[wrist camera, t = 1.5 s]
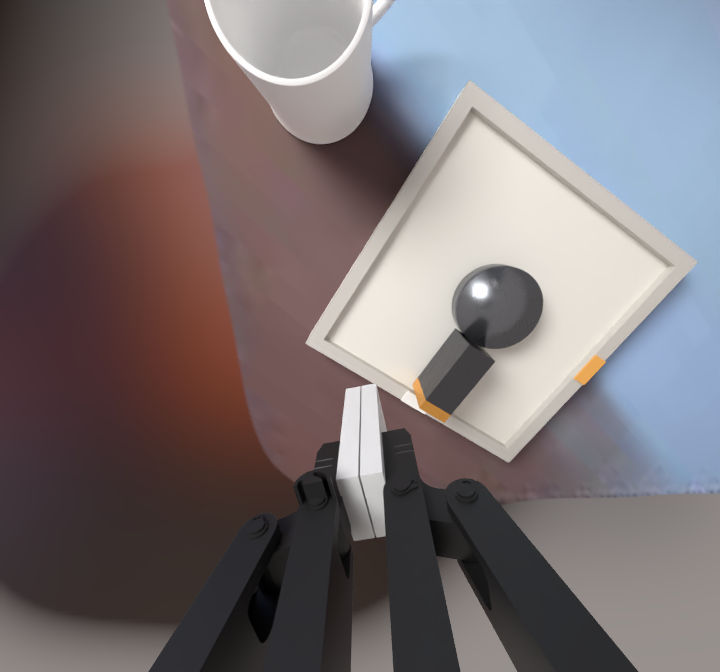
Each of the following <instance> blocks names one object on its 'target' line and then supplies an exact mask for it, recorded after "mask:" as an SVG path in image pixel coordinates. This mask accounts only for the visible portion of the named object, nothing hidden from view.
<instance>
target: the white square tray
mask: <svg viewBox="0 0 720 672" xmlns="http://www.w3.org/2000/svg"><path fill="white" fill-rule="evenodd" d="M697 263H698V262H697V261H696V260H695V259H693V258H692V257H691V256H689V255H688V254H687V253H686V252H684V251H683V250H682V249H681V248H679V247H678V246H677V245H676V244H674V243H673V242H672V241H671V240H669V239H668V238H667V237H666V236H664V235H663V234H662V233H661V232H659V231H658V230H657V229H656V228H654V227H653V226H652V225H651V224H649V223H648V222H647V221H646V220H644V219H643V218H642V217H641V216H639V215H638V214H637V213H636V212H634V211H633V210H632V209H631V208H629V207H628V206H627V205H626V204H624V203H623V202H622V201H621V200H619V199H618V198H617V197H616V196H614V195H613V194H612V193H611V192H609V191H608V190H607V189H606V188H604V187H603V186H602V185H601V184H599V183H598V182H597V181H596V180H594V179H593V178H592V177H591V176H589V175H588V174H587V173H586V172H584V171H583V170H582V169H581V168H579V167H578V166H577V165H576V164H574V163H573V162H572V161H571V160H569V159H568V158H567V157H566V156H564V155H563V154H562V153H561V152H559V151H558V150H557V149H556V148H554V147H553V146H552V145H551V144H549V143H548V142H547V141H546V140H544V139H543V138H542V137H540V136H539V135H538V134H537V133H535V132H534V131H533V130H532V129H530V128H529V127H528V126H527V125H525V124H524V123H523V122H522V121H520V120H519V119H518V118H517V117H515V116H514V115H513V114H512V113H510V112H509V111H508V110H507V109H505V108H504V107H503V106H502V105H500V104H499V103H498V102H497V101H495V100H494V99H493V98H492V97H490V96H489V95H488V94H487V93H485V92H484V91H483V90H482V89H480V88H479V87H478V86H477V85H475V84H474V83H473V82H472V81H470V80H469V81H468V83H467V84H466V86H465V87H464V88H463V90H462V91H461V92H460V94H459V95H458V97H457V99H456V100H455V102H454V103H453V105H452V107H451V108H450V110H449V112H448V113H447V115H446V116H445V118H444V120H443V121H442V123H441V124H440V126H439V128H438V129H437V131H436V132H435V134H434V136H433V137H432V139H431V140H430V142H429V144H428V145H427V147H426V149H425V150H424V152H423V153H422V155H421V157H420V158H419V160H418V161H417V163H416V165H415V166H414V168H413V169H412V171H411V173H410V174H409V176H408V177H407V179H406V181H405V182H404V184H403V185H402V187H401V189H400V190H399V192H398V194H397V195H396V197H395V198H394V200H393V202H392V203H391V205H390V206H389V208H388V210H387V211H386V213H385V214H384V216H383V218H382V219H381V221H380V222H379V224H378V226H377V227H376V229H375V231H374V232H373V234H372V235H371V237H370V239H369V240H368V242H367V243H366V245H365V247H364V248H363V250H362V251H361V253H360V255H359V256H358V258H357V259H356V261H355V263H354V264H353V266H352V268H351V269H350V271H349V272H348V274H347V276H346V277H345V279H344V280H343V282H342V284H341V285H340V287H339V288H338V290H337V292H336V293H335V295H334V296H333V298H332V300H331V301H330V303H329V305H328V306H327V308H326V309H325V311H324V313H323V314H322V316H321V317H320V319H319V321H318V322H317V324H316V325H315V327H314V329H313V330H312V332H311V333H310V335H309V337H308V339H307V341H306V344H307V345H309V346H311V347H312V348H314V349H316V350H317V351H319V352H321V353H323V354H324V355H326V356H328V357H329V358H331V359H333V360H335V361H336V362H338V363H340V364H341V365H343V366H345V367H346V368H348V369H350V370H352V371H353V372H355V373H357V374H358V375H360V376H362V377H363V378H365V379H367V380H369V381H370V382H372V383H374V384H375V383H376V385H377V386H379V387H380V388H382V389H384V390H386V391H387V392H389V393H391V394H392V395H394V396H396V397H397V398H399V399H401V401H403V402H404V403H406V404H408V405H410V406H411V407H413V408H415V409H416V410H418V411H420V412H421V413H423V414H426V415H428V416H430V417H432V418H433V419H435V420H437V421H438V422H440V423H442V424H443V425H445V426H447V427H449V428H450V429H452V430H454V431H455V432H457V433H459V434H460V435H462V436H464V437H466V438H467V439H469V440H471V441H472V442H474V443H476V444H477V445H479V446H481V447H483V448H484V449H486V450H488V451H489V452H491V453H493V454H494V455H496V456H498V457H500V458H501V459H503V460H505V461H506V462H508V463H509V462H510V461H511V460H512V459H513V458H514V457H515V456H516V455H517V454H518V453H519V452H520V450H521V449H522V448H523V447H524V446H525V445H526V444H527V443H528V442H529V441H530V440H531V439H532V438H533V437H534V436H535V435H536V433H537V432H538V431H539V430H540V429H541V428H542V427H543V426H544V425H545V424H546V423H547V422H548V421H549V420H550V419H551V418H552V417H553V415H554V414H555V413H556V412H557V411H558V410H559V409H560V408H561V407H562V406H563V405H564V404H565V403H566V402H567V401H568V400H569V398H570V397H571V396H572V395H573V394H574V393H575V392H576V391H577V390H578V389H579V388H580V387H581V386H582V385H585V384H586V383H587V382H588V381H589V380H590V379H591V377H592V376H593V375H594V374H595V373H596V372H597V371H598V370H599V369H600V368H601V367H602V366H603V365H604V364H605V363H606V362H605V360H606V359H607V358H608V357H609V356H610V355H611V354H612V353H613V352H614V351H615V350H616V349H617V347H618V346H619V345H620V344H621V343H622V342H623V341H624V340H625V339H626V338H627V337H628V336H629V335H630V334H631V333H632V332H633V331H634V329H635V328H636V327H637V326H638V325H639V324H640V323H641V322H642V321H643V320H644V319H645V318H646V317H647V316H648V315H649V314H650V312H651V311H652V310H653V309H654V308H655V307H656V306H657V305H658V304H659V303H660V302H661V301H662V300H663V299H664V298H665V297H666V295H667V294H668V293H669V292H670V291H671V290H672V289H673V288H674V287H675V286H676V285H677V284H678V283H679V282H680V281H681V280H682V278H683V277H684V276H685V275H686V274H687V273H688V272H689V271H690V270H691V269H692V268H693V267H694V266H695V265H696V264H697ZM488 264H505V265H508V266H512V267H515V268H519V269H521V270H524V271H525V272H527V273H529V274H530V275H531V276H532V277H533V278H534V279H535V280H536V281H537V283H538V285H539V286H540V289H541V291H542V295H543V310H542V314H541V317H540V320H539V322H538V324H537V325H536V327H535V328H534V330H533V331H532V332H531V333H530V334H529V335H528V336H527V337H526V338H525V339H523V340H522V341H520V342H519V343H517V344H515V345H512V346H510V347H506V348H501V349H488V348H484V347H482V348H483V349H484V350H485V351H486V352H487V353H488V354H489V355H490V356H491V357H492V358H493V359H494V360H495V363H494V364H493V365H492V366H491V367H490V369H489V370H488V371H487V372H486V373H485V375H484V376H483V377H482V378H481V379H480V381H479V382H478V383H477V384H476V386H475V387H474V388H473V389H472V390H471V392H470V393H469V394H468V395H467V396H466V398H465V399H464V400H463V401H462V402H461V404H460V405H459V406H458V407H457V408H456V410H455V411H454V412H453V413H452V414H451V416H450V417H449V418H448V419H447V420H446V422H445V423H444V422H442V421H440V420H438V419H437V418H435V417H433V416H432V415H430V414H428V413H427V412H425V411H423V410H422V409H420V408H419V405H418V402H417V399H416V395H415V392H414V388H413V385H412V384H413V383H414V382H415V380H416V379H417V378H418V376H419V375H420V374H421V373H422V371H423V370H424V369H425V367H426V366H427V365H428V363H429V362H430V361H431V359H432V358H433V357H434V355H435V354H436V353H437V352H438V350H439V349H440V348H441V346H442V345H443V344H444V342H445V341H446V340H447V338H448V337H449V336H450V334H451V333H452V332H453V331H454V329H455V328H456V329H457V330H459V331H460V332H461V330H460V329H459V328H458V327H457V325H456V323H455V321H454V319H453V315H452V308H451V306H452V298H453V295H454V292H455V290H456V288H457V286H458V285H459V283H460V282H461V280H462V279H463V278H464V277H465V276H466V275H467V274H469V273H470V272H471V271H473V270H475V269H476V268H479V267H481V266H484V265H488Z"/></svg>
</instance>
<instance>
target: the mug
mask: <svg viewBox="0 0 720 672" xmlns="http://www.w3.org/2000/svg"><path fill="white" fill-rule="evenodd" d="M204 1H205V5H206V9H207V12H208V15H209V18H210V21H211V23H212V25H213V28H214V30H215V32H216V34H217V36H218V37H219V39H220V41H221V42H222V44H223V46H224V47H225V48H226V50H227V51H228V53H229V54H230V55H231V56H232V58H233V59H234V60H235V62H236V63H237V64H238V65H239V67H240V68H241V69H242V70H243V72H244V73H245V74H246V75H247V77H248V78H249V79H250V80H251V82H252V83H253V84H254V85H255V87H256V88H257V89H258V90H259V92H260V93H261V94H262V95H263V97H264V98H265V99H266V100H267V102H268V103H269V104H270V106H271V108H272V110H273V112H274V114H275V116H276V117H277V119H278V120H279V122H280V123H281V124H282V125H283V127H284V128H285V129H286V130H287V131H289V132H290V133H291V134H292V135H294V136H295V137H297V138H299V139H301V140H303V141H306V142H309V143H313V144H329V143H333V142H336V141H339V140H341V139H343V138H345V137H346V136H348V135H349V134H351V133H352V132H353V131H354V130H355V129H356V128H357V127H358V126H359V124H360V123H361V122H362V120H363V118H364V117H365V115H366V113H367V111H368V108H369V105H370V102H371V98H372V92H373V72H372V66H371V43H372V27H373V26H374V25H375V24H376V23H377V22H378V21H379V20H380V19H381V18H382V17H383V15H384V14H385V13H386V12H387V11H388V9H389V8H390V7H391V5H392V4H393V3H394V1H395V0H378V1H377V2H376V3H375V4H374V5H373V0H204Z"/></svg>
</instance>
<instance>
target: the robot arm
mask: <svg viewBox="0 0 720 672" xmlns="http://www.w3.org/2000/svg"><path fill="white" fill-rule="evenodd" d="M314 468H315V469H314V470H312V471H309V472H307V473H305V474H303V475H302V476H300V477H299V478H298V479H297V480H296V482H295V484H294V486H293V488H294V491H295V494H296V496H297V499H298V502H299V505H300V507H299V509H298V510H297V511H296V512H294V513H292V514H290V515H288V516H286V517H283V518H281V519H279V520H277V518H276V517H275V516H274V515H273V514H270V513H262V514H259V515H256V516H254V517H252V518H251V519H250V520H248V521H247V522H246V523H245V524H244V525H243V527H242V528H241V529H240V530H239V532H238V534H237V535H236V537H235V538H234V540H233V541H232V543H231V544H230V546H229V547H228V549H227V551H226V552H225V554H224V555H223V557H222V558H221V560H220V561H219V563H218V565H217V566H216V568H215V569H214V571H213V572H212V574H211V575H210V577H209V579H208V580H207V582H206V583H205V585H204V587H203V588H202V590H201V591H200V593H199V594H198V596H197V597H196V599H195V600H194V602H193V603H192V605H191V607H190V608H189V610H188V611H187V613H186V614H185V616H184V618H183V619H182V620H181V622H180V624H179V625H178V627H177V628H176V630H175V631H174V633H173V635H172V636H171V638H170V639H169V641H168V642H167V644H166V645H165V647H164V648H163V650H162V652H161V653H160V655H159V656H158V658H157V659H156V661H155V663H154V664H153V666H152V667H151V669H150V670H149V672H351V636H352V634H351V633H352V598H353V560H354V555H353V549H352V546H351V543H350V541H351V533H352V536H353V539H354V541H357V540H363V539H369V538H374V537H375V534H376V537H382V536H386V549H387V550H386V551H387V568H388V583H389V601H390V618H391V635H392V650H393V651H392V652H393V668H394V672H460V668H459V663H458V658H457V653H456V648H455V644H454V639H453V634H452V629H451V624H450V620H449V615H448V610H447V605H446V600H445V596H444V591H443V586H442V581H441V577H440V571H439V567H438V562H437V557H436V556H441V557H447V558H452V559H457V561H458V564H459V565H460V567H461V569H462V571H463V573H464V575H465V576H466V578H467V580H468V582H469V584H470V586H471V587H472V589H473V591H474V593H475V595H476V597H477V598H478V600H479V602H480V604H481V605H482V608H483V609H484V611H485V613H486V615H487V617H488V618H489V620H490V622H491V624H492V626H493V628H494V629H495V631H496V633H497V635H498V637H499V639H500V640H501V642H502V644H503V646H504V648H505V650H506V651H507V653H508V655H509V657H510V659H511V661H512V662H513V664H514V666H515V668H516V670H517V672H638V671H637V669H636V668H635V667H634V666H633V665H632V663H631V662H630V661H629V660H628V659H627V658H626V656H625V655H624V654H623V653H622V651H621V650H620V649H619V648H618V647H617V645H616V644H615V643H614V642H613V641H612V639H611V638H610V637H609V636H608V635H607V633H606V632H605V631H604V630H603V628H602V627H601V626H600V625H599V624H598V622H597V621H596V620H595V619H594V618H593V616H592V615H591V614H590V613H589V612H588V610H587V609H586V608H585V607H584V606H583V604H582V603H581V602H580V601H579V599H578V598H577V597H576V596H575V595H574V593H573V592H572V591H571V590H570V589H569V587H568V586H567V585H566V584H565V583H564V581H563V580H562V579H561V578H560V577H559V575H558V574H557V573H556V572H555V570H554V569H553V568H552V567H551V566H550V564H548V562H547V561H546V560H545V558H544V557H543V556H542V555H541V554H540V552H539V551H538V550H537V549H536V548H535V546H534V545H533V544H532V543H531V541H530V540H529V539H528V538H527V537H526V536H525V534H524V533H523V532H522V531H521V529H520V528H519V527H518V526H517V525H516V523H515V522H514V521H513V520H512V519H511V517H510V516H509V515H508V514H507V513H506V511H505V510H504V509H503V508H502V506H501V505H500V504H499V503H498V502H497V500H496V499H495V498H494V497H493V496H492V494H491V493H490V492H489V491H488V490H487V488H486V487H485V486H484V485H482V484H481V483H480V482H478V481H475V480H473V479H459V480H455V481H454V482H452V483H450V484H449V485H448V487H447V488H446V489H438V488H433V487H431V486H428V485H427V484H425V483H424V482H423V481H422V480H421V478H420V476H419V472H418V467H417V463H416V458H415V454H414V449H413V444H412V440H411V435H410V434H409V433H408V432H407V431H406V430H405V429H404V428H403V429H398V430H392V431H387V430H386V425H385V420H384V416H383V412H382V407H381V403H380V399H379V394H378V390H377V385H376V383H375V384H370V385H365V386H362V391H361V387H355V388H349V389H346V394H345V403H344V412H343V421H342V429H341V438H340V441H336V442H331V443H325V444H323V445H322V447H321V448H320V449H319V451H318V453H317V457H316V462H315V467H314ZM374 530H375V533H374Z"/></svg>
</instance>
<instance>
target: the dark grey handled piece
mask: <svg viewBox="0 0 720 672" xmlns="http://www.w3.org/2000/svg"><path fill="white" fill-rule="evenodd" d="M451 308H452V315H453V319H454V321H455V323H456V325H457V327H458V328H459V329H460V330H461V332H460V331H459V330H457V329H456V328H455V329H454V331H453V332H452V333H451V334H450V336H449V337H448V338H447V340H446V341H445V342H444V344H443V345H442V346H441V348H440V349H439V350H438V352H437V353H436V354H435V355H434V357H433V358H432V359H431V361H430V362H429V363H428V365H427V366H426V367H425V369H424V370H423V371H422V373H421V374H420V375H419V376H418V378H417V379H416V380H415V382H414V383H413V384H412V385H413V388H414V392H415V395H416V399H417V402H418V405H419V408H420V409H422V410H423V411H425V412H427V413H428V414H430V415H432V416H433V417H435V418H437V419H438V420H440V421H442V422H444V423H445V422H446V420H447V419H448V418H449V417H450V416H451V414H452V413H453V412H454V411H455V410H456V408H457V407H458V406H459V405H460V404H461V402H462V401H463V400H464V399H465V398H466V396H467V395H468V394H469V393H470V392H471V390H472V389H473V388H474V387H475V386H476V384H477V383H478V382H479V381H480V379H481V378H482V377H483V376H484V375H485V373H486V372H487V371H488V370H489V369H490V367H491V366H492V365H493V364H494V363H495V360H494V359H493V358H492V357H491V356H490V355H489V354H488V353H487V352H486V351H485V350H484V349H483V348H482V347H484V348H488V349H501V348H506V347H510V346H512V345H515V344H517V343H519V342H520V341H522V340H523V339H525V338H526V337H527V336H528V335H529V334H530V333H531V332H532V331H533V330H534V328H535V327H536V325H537V324H538V322H539V320H540V317H541V314H542V310H543V295H542V291H541V289H540V286H539V285H538V283H537V281H536V280H535V279H534V278H533V277H532V276H531V275H530V274H529V273H527V272H525V271H524V270H521V269H519V268H515V267H512V266H508V265H505V264H488V265H484V266H481V267H479V268H476V269H475V270H473V271H471V272H470V273H469V274H467V275H466V276H465V277H464V278H463V279H462V280H461V282H460V283H459V285H458V286H457V288H456V290H455V292H454V295H453V298H452V306H451Z"/></svg>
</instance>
